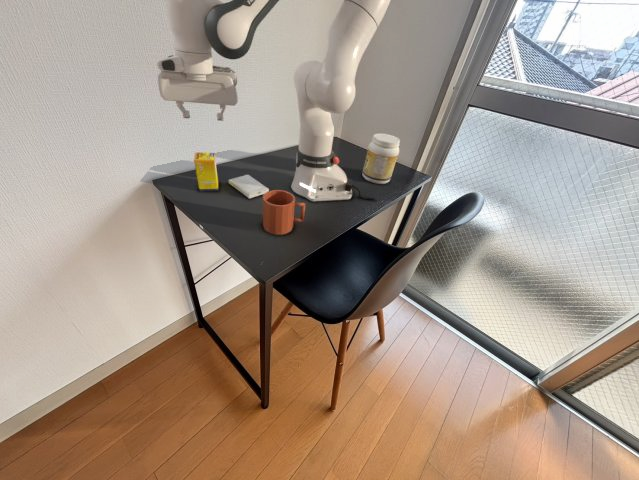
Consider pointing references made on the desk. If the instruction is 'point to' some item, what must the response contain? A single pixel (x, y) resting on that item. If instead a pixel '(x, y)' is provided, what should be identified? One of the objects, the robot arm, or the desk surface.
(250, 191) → the hard drive
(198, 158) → the supplement box
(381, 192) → the desk surface
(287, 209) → the mug
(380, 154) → the supplement tub
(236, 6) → the robot arm
